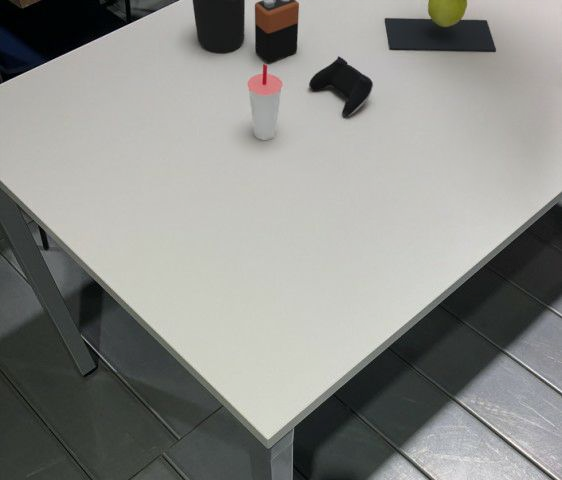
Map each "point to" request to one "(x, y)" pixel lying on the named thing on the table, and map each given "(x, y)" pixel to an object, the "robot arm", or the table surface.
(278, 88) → the cup
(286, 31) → the battery
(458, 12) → the fruit
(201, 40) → the pen holder
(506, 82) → the table surface
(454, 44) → the mat
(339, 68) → the gaming controller
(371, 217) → the table surface
